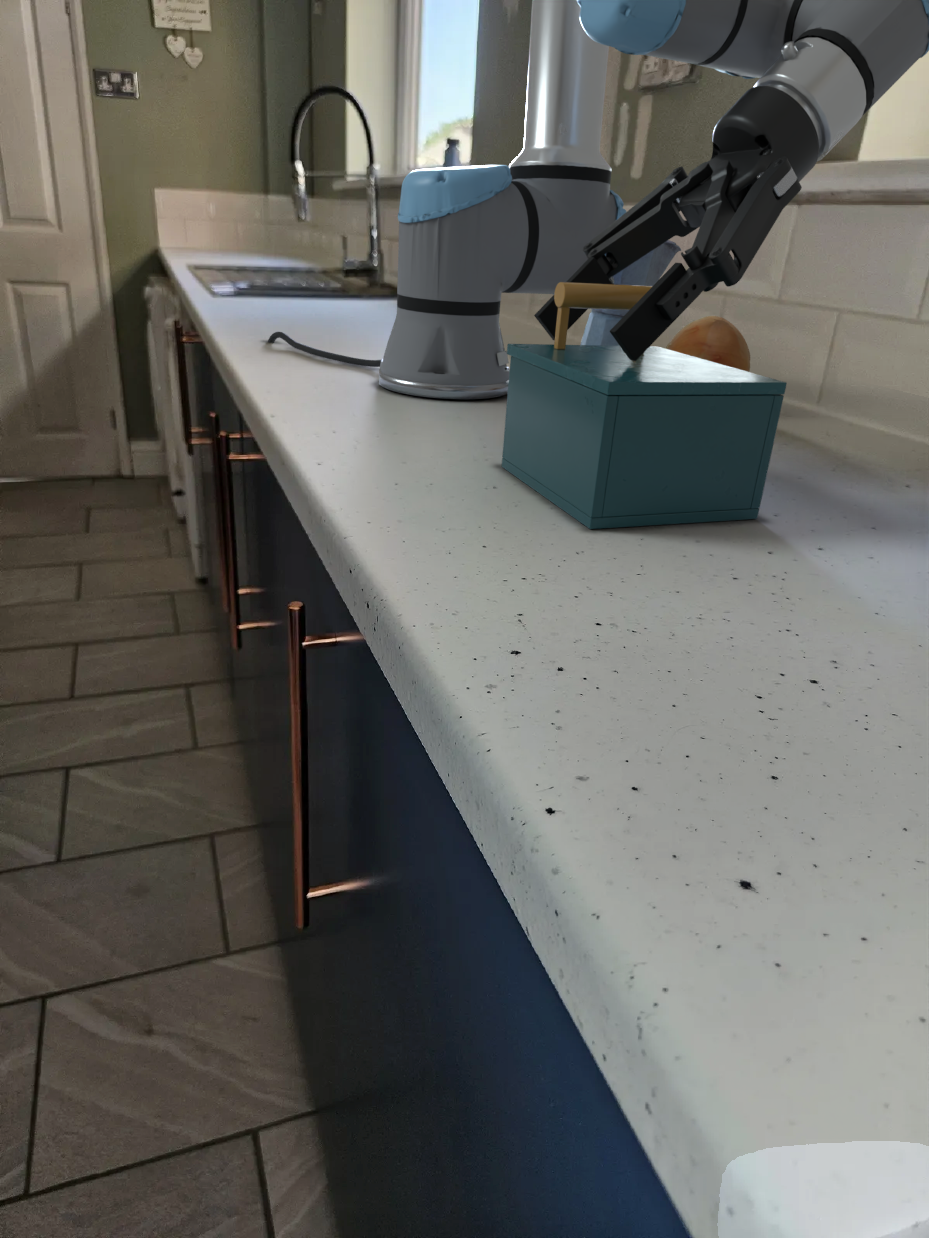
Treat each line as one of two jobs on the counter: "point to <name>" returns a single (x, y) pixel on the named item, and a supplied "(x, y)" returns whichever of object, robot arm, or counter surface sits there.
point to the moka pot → (635, 274)
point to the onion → (713, 342)
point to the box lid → (620, 374)
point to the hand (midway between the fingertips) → (580, 337)
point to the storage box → (637, 451)
